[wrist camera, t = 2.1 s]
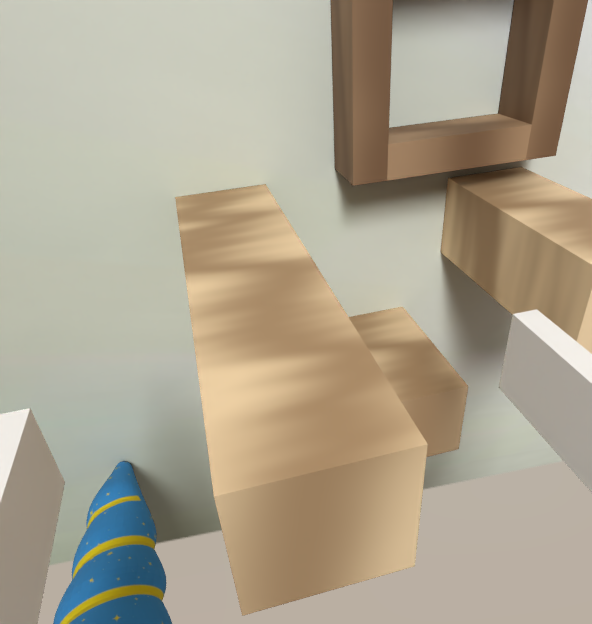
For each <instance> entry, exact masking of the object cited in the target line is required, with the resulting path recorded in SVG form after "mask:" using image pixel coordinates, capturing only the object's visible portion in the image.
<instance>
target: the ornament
mask: <svg viewBox="0 0 592 624" xmlns="http://www.w3.org/2000/svg"><path fill="white" fill-rule="evenodd" d="M155 544H156V528H155V524H154V521H153V518H152V516H151V513H150V511H149V509H148V506H147V504H146V502H145V500H144V498H143V495H142V493H141V490H140V488H139V485H138V482H137V480H136V477H135V474H134V471H133V468H132V466H131V464H130V463H128V462H125V461H123V462H120V463H118V464H117V466H116V467H115V469H114V471H113V472H112V474H111V475H110V477H109V478H108V479H107V481H106V482H105V483H104V485H103V486H102V487H101V489H100V490H99V492H98V493H97V495H96V496H95V498H94V500H93V501H92V503H91V506H90V508H89V511H88V516H87V531H86V533H85V535H84V536H83V538H82V540H81V542H80V544H79V546H78V549H77V552H76V554H75V557H74V562H73V568H72V582H71V583H70V585H69V587H68V588H67V590H66V592H65V594H64V596H63V597H62V600H61V602H60V604H59V606H58V609H57V611H56V614H55V618H54V623H53V624H172V622H171V619H170V616H169V614H168V612H167V610H166V608H165V606H164V604H163V602H162V599H163V597H164V593H165V590H166V576H165V572H164V569H163V566H162V564H161V562H160V560H159V558H158V556H157V554H156V552H155V550H154V548H155Z"/></svg>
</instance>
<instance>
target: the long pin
mask: <svg viewBox="0 0 592 624" xmlns="http://www.w3.org/2000/svg"><path fill="white" fill-rule="evenodd" d="M175 199H176V206H177V214H178V222H179V230H180V237H181V245H182V253H183V261H184V268H185V276H186V284H187V292H188V299H189V307H190V315H191V322H192V330H193V338H194V346H195V353H196V361H197V369H198V377H199V384H200V392H201V400H202V408H203V415H204V423H205V431H206V439H207V446H208V454H209V462H210V470H211V477H212V485H213V493H214V499H215V503H216V507H217V511H218V516H219V520H220V524H221V528H222V532H223V536H224V540H225V544H226V549H227V553H228V557H229V562H230V566H231V570H232V574H233V578H234V583H235V587H236V591H237V595H238V599H239V603H240V608H241V612H242V615H247V614H250V613H253V612H257V611H261V610H264V609H267V608H271V607H275V606H278V605H282V604H285V603H288V602H292V601H295V600H299V599H303V598H306V597H310V596H313V595H316V594H320V593H323V592H327V591H330V590H334V589H337V588H341V587H344V586H348V585H351V584H355V583H358V582H362V581H365V580H369V579H372V578H376V577H379V576H383V575H386V574H390V573H393V572H397V571H400V570H404V569H407V568H410V567H414V566H415V558H416V549H417V540H418V530H419V521H420V512H421V502H422V493H423V484H424V474H425V465H426V455H427V446H428V444H427V442H426V441H425V439H424V438H423V436H422V434H421V433H420V431H419V430H418V428H417V426H416V425H415V423H414V421H413V420H412V418H411V417H410V415H409V413H408V412H407V410H406V409H405V407H404V405H403V404H402V402H401V401H400V399H399V397H398V396H397V394H396V393H395V391H394V389H393V388H392V386H391V385H390V383H389V381H388V380H387V378H386V377H385V375H384V373H383V372H382V370H381V369H380V367H379V365H378V364H377V362H376V361H375V359H374V357H373V356H372V354H371V353H370V351H369V349H368V348H367V346H366V345H365V343H364V341H363V340H362V338H361V337H360V335H359V333H358V332H357V330H356V329H355V327H354V325H353V324H352V322H351V321H350V319H349V317H348V316H347V314H346V312H345V311H344V309H343V308H342V306H341V304H340V303H339V301H338V300H337V298H336V296H335V295H334V293H333V292H332V290H331V288H330V287H329V285H328V284H327V282H326V280H325V279H324V277H323V276H322V274H321V272H320V271H319V269H318V268H317V266H316V264H315V263H314V261H313V260H312V258H311V256H310V255H309V253H308V252H307V250H306V248H305V247H304V245H303V244H302V242H301V240H300V239H299V237H298V236H297V234H296V232H295V231H294V229H293V228H292V226H291V224H290V223H289V221H288V220H287V218H286V216H285V215H284V213H283V212H282V210H281V208H280V207H279V205H278V204H277V202H276V200H275V199H274V197H273V195H272V194H271V192H270V191H269V189H268V187H267V186H266V184H264V185H257V186H250V187H243V188H236V189H229V190H222V191H215V192H208V193H201V194H194V195H188V196H181V197H175Z"/></svg>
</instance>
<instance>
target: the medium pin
mask: <svg viewBox="0 0 592 624" xmlns="http://www.w3.org/2000/svg"><path fill="white" fill-rule="evenodd" d="M441 253H442V254H443V255H445V256H446V257H447V258H448V259H449V260H450V261H451V262H453V263H454V264H455V265H456V266H457V267H458V268H459V269H461V270H462V271H463V272H464V273H465V274H466V275H467V276H469V277H470V278H471V279H472V280H473V281H474V282H476V283H477V284H478V285H479V286H480V287H481V288H482V289H484V290H485V291H486V292H487V293H488V294H489V295H490V296H492V297H493V298H494V299H495V300H496V301H497V302H498V303H500V304H501V305H502V306H503V307H504V308H505V309H507V310H508V311H509V312H510V313H511V314H512V315H513V314H516V313H521V312H526V311H531V310H536V309H537V310H538V311H539V312H541V313H542V314H543V315H544V316H546V317H547V318H548V319H549V320H551V321H552V322H553V323H554V324H556V325H557V326H558V327H559V328H560V329H562V330H563V331H564V332H565V333H567V334H568V335H569V336H570V337H572V338H573V339H574V340H575V341H576V342H578V343H579V344H580V345H581V346H583V347H584V348H585V349H586V350H588V351H589V352H590V353H591V354H592V199H591V198H588V197H586V196H584V195H582V194H580V193H577V192H575V191H573V190H571V189H569V188H566V187H564V186H562V185H560V184H558V183H555V182H553V181H551V180H549V179H546V178H544V177H542V176H540V175H538V174H535V173H533V172H531V171H529V170H527V169H524V168H522V167H518V168H512V169H505V170H498V171H492V172H485V173H479V174H472V175H465V176H459V177H452V178H448V183H447V193H446V203H445V213H444V223H443V234H442V244H441Z"/></svg>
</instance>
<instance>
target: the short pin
mask: <svg viewBox="0 0 592 624" xmlns="http://www.w3.org/2000/svg"><path fill="white" fill-rule="evenodd" d="M349 319H350V321H351V322H352V324H353V325H354V327H355V329H356V330H357V332H358V333H359V335H360V337H361V338H362V340H363V341H364V343H365V345H366V346H367V348H368V349H369V351H370V353H371V354H372V356H373V357H374V359H375V361H376V362H377V364H378V365H379V367H380V369H381V370H382V372H383V373H384V375H385V377H386V378H387V380H388V381H389V383H390V385H391V386H392V388H393V389H394V391H395V393H396V394H397V396H398V397H399V399H400V401H401V402H402V404H403V405H404V407H405V409H406V410H407V412H408V413H409V415H410V417H411V418H412V420H413V421H414V423H415V425H416V426H417V428H418V430H419V431H420V433H421V434H422V436H423V438H424V439H425V441H426V442H427V444H428V446H427V455H426V457H429V456H433V455H436V454H440V453H444V452H448V451H452V450H456V449H459V443H460V436H461V430H462V424H463V417H464V411H465V404H466V398H467V391H468V385H467V384H466V383H465V382H464V380H463V379H462V378H461V377H460V376H459V374H458V373H457V372H456V371H455V370H454V368H453V367H452V366H451V365H450V363H449V362H448V361H447V360H446V359H445V357H444V356H443V355H442V354H441V353H440V351H439V350H438V349H437V348H436V347H435V345H434V344H433V343H432V342H431V340H430V339H429V338H428V337H427V336H426V334H425V333H424V332H423V331H422V330H421V328H420V327H419V326H418V325H417V323H416V322H415V321H414V320H413V319H412V317H411V316H410V315H409V314H408V313H407V311H406V310H405V309H404V308H403V307H398V308H393V309H388V310H383V311H378V312H373V313H368V314H363V315H357V316H352V317H349Z"/></svg>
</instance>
